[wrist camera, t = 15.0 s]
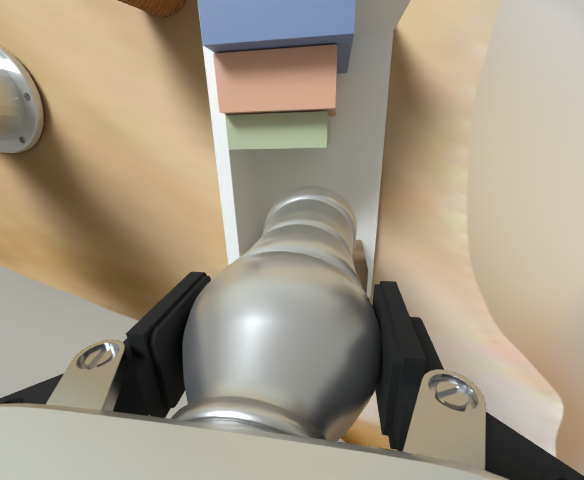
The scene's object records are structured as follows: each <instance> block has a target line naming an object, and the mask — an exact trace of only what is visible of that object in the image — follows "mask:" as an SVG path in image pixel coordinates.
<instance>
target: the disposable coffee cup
mask: <svg viewBox="0 0 584 480" xmlns="http://www.w3.org/2000/svg"><path fill="white" fill-rule="evenodd" d="M118 1H121V2H123V3H126V4H128V5H131V6H133V7H137V8H139V9H141V10H144V11H146V12H149V13H151V14H153V15H156V16H159V17H166V16H171V15H173V14H174V13H176V12H177V11H178V10H179V9H180V8H181V7H182V6H183V4H184V2H185V0H118Z"/></svg>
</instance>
